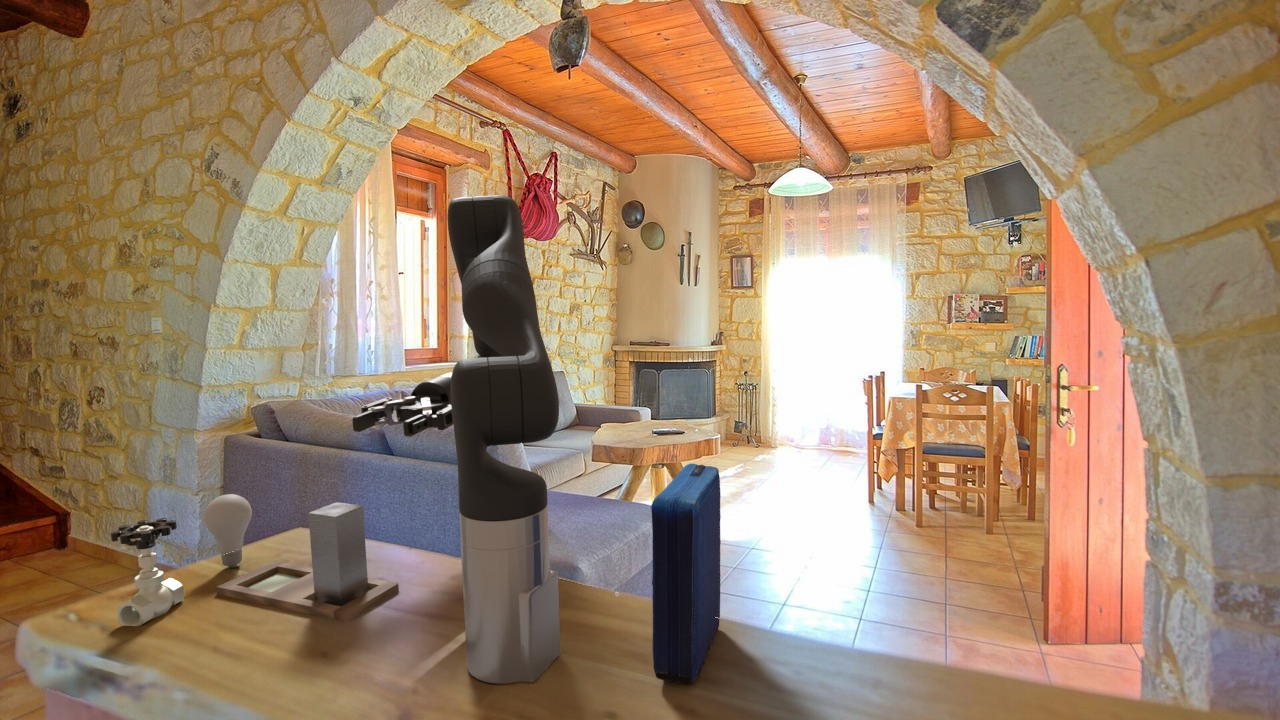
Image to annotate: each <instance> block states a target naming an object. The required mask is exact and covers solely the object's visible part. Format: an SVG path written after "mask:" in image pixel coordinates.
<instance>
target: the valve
mask: <svg viewBox="0 0 1280 720" xmlns="http://www.w3.org/2000/svg"><path fill="white" fill-rule="evenodd" d="M177 527H178V526H177V521H176V520H168V519H167V518H166V517H161V518H158V519H156V520H155V521H154V520H153V521H149V520H148V519H141V520H138V521H137V522H136V524H134V525H128V524H123V525H120V526H118V527H117V529H118V530H115V531H112V532H110V540H111V542H118V541H119V542H120V545H127V546H130V547H136V550H139V551H140V550H141V554H140V555H139V554H138V556H137V562H138V567H139V568H141V570H140V571H139V574H138V575H136V576H135V577H134V578H133V579H134V586H135V588H138V591H137V593H136V594H135V595H134V596H133V597H132V598H131V599H129V600H127V601H125V602H124V603H122V604H120V605H119V606H118V607H117V609H116V611H117V613H116V615H117V620H118V622H119V624H121V626H123V627H125V626H127V627H129V626H132V627H140V626H142V625H143V624H145V623H147V622H149V621H150V620H152V619H156V618H158V617H160V616H163V615H164V614H166V613H168V611H170V609H171V608H172V607H174V606H175V605H176V604H178V603H180V602H182V601H183V600H185V590H184V586H183V584H182V583H181V582H180V581H178V580H176V579H175V578H171V577H169V578H168V579H165V574H164V571H162V570H159V569H158V568H157V567H155V566H156V565H157V564H158V560H157V553H156V552H153V551H152V548H153V547H155V546H156V545H157V544H156V543H157V542H156V540H157V539H158V538H159V537H160V535H161V537H166V536H170V535H172V533H171V531H174V530H176V529H177ZM118 538H119V539H118Z"/></svg>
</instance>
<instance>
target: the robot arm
mask: <svg viewBox="0 0 1280 720" xmlns="http://www.w3.org/2000/svg"><path fill="white" fill-rule="evenodd" d="M446 218H447V229H448V237H449V242H450V243H449V244H450V247H451V250H452V254H453V255H452V256H453V259H454V264H455V266H456V270H457V274H458V278H459V280H460V284H461V307H462V308H461V310H462V314H463V318H464V320H465V323H466V325H467V326H468V327H469V329H470V330H471V332H472V339H473V344H474V345H473V346H474V349H475V351H476V353H477V355H475V356H474V357H471V358H470V357H469V358H463V359H461V360H459V361H457V362H456V363H455V365H454V366H453V369H452V371H451V372H447V373H444V374H441V375H439V376H436V377H433V378H431V379H428V380H425V381H422V382H421V383H419V384H417V385H416V386H414V389H413V390H412V392H411V393H410V396H404V397H402V399H396V400H393V398H392V397H389V396H386V397H384V398H382V399H379V400H375V401H373V402H370V403H368V404H364V405H362V406H361V407H360V411H361V413H360V414H357V415H355V416H353V417H352V419H351V422H352V428H353V429H352V430H353V431H354V432H356V433H357V432H358V433H360V432H363V431H365V430H367V429H370V428H373V427H374V426H376V425H377V426H378V425H383V424H387V425H388V426H390V427H391V426H397V425H402V424H403V425H402V426H403V435H404V437H408V438H410V437H413V436H415V435H416V434H417V435H418V434H419V433H421V432H424V431H431V430H433V429H437V430H438V431H444V430H446V429H448V428H450V427H452V426H453V431H454V441H455V442H454V444H455V452H456V459H457V462H456V464H457V478H458V481H457V482H458V510H459V529H460V530H459V531H460V535H459V536H460V552H461V553H460V554H461V555H460V556H461V572H462V573H461V574H462V592H463V593H462V594H463V595H462V596H463V615H464V632H465V650H466V651H465V653H466V666H467V667H466V668H467V671H468V672H469V673H470V675H471V676H473V677H474V678H476V679H477V680H479V681H482V682H486V683H490V684H511V683H512V684H513V683H517V682H518V683H519V682H528V683H534V682H535V681H536V680H537V679H538V678H539V677H541V674H543V673H544V672H545V671H546V670H547V668H548V667H549V666H550V665H552V663H553V662H555V660H556V659H557V658H558V657H559V656H560V655H561V652H562V650H561V627H560V623H561V622H560V598H559V596H560V595H559V575H558V572H557V571H555V570H551V566H550V538H549V508H548V507H549V506H548V487H547V486H548V485H547V483H546V480H545V479H544V478H543V477H542V476H541V475H540V474H538V473H536V472H534V471H532V470H528V469H523V468H519V467H516V466H513V465H510V464H507V463H505V462H502V461H500V460H499V459H497V458H495V457H493V456H492V455H491V454H490V453H489V452H488V450H487V448H488V447H491V446H505V445H508V446H509V445H520V444H532V443H537V442H542V441H544V440H547V439H549V438H551V436H552V435H553V434H554V433H555V431H556V429H557V426H558V422H559V417H560V400H559V399H560V398H559V392H558V388H557V382H556V377H555V375H554V370H553V367H552V364H551V360H550V358H549V355H548V352H547V349H546V346H545V342H544V339H543V336H542V333H541V328H540V322H539V321H540V319H539V315H538V314H539V313H538V308H537V307H538V305H537V299H536V293H535V289H534V284H533V281H532V275H531V272H530V268H529V266H528V265H529V263H528V260H527V257H526V248H525V235H524V233H525V232H524V226H523V225H524V223H523V217H522V214H521V210H520V207H519V205H518V203H517V202H516V201H515V200H514V198H512V197H511V196H508V195H502V194H494V195H476V196H462V197H456V198H452V199H451V200H450V202H449V203H448V207H447V217H446ZM394 412H395V415H396V419H394V418H393V414H394Z"/></svg>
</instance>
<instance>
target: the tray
mask: <svg viewBox="0 0 1280 720" xmlns="http://www.w3.org/2000/svg"><path fill="white" fill-rule="evenodd" d="M399 586H400V585H399V582H393V581H388V580H382V579H376V578H371V577H368V592H367V593H365V594H363V595H361V596H359V597H358V598H356V599H354V600H352V601H351V602H349V603H347V604H345V605H344V606H342V607H341V606H336V605H331V604H326V603H321V602H316V601H315V594H314V581H313V568H312V567H309V566H303V565H298V564H293V563H287V562H283V561H277V560H275V561H272V562H270V563H267V564H265V565H263V566H261V567H259V568H256V569H254V570H252V571H249V572H247V573H245V574H242V575H240V576H238V577H236V578H233V579H231V580H228V581H226V582H224V583H222V584H219V585H217V586H216V595H219V596H223V597H227V598H233V599H237V600H243V601H246V602H250V603H251V602H252V603H256V604H261V605H263V606H264V605H265V606H271V607H274V608H279V609H284V610H288V611H293V612H298V613H301V614H307V615H311V616H315V617H321V618H326V619H329V620H334V621H341V622H344V623H348V622H349V621H351V620H352V619H354V618H356V617H359V616H360V615H361V614H363V613H364V612H366V611H368V610H369V609H371V608H373V607H374V606H376V605H378V604H379V603H381V602H383V601H384V600H386V599H388V598H389V597H391V596H393V595H394V594H397V593H398V592H399V591H400V589H399Z"/></svg>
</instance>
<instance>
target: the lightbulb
mask: <svg viewBox="0 0 1280 720" xmlns="http://www.w3.org/2000/svg"><path fill="white" fill-rule="evenodd" d="M252 515H253V510H252V506H251V504H250V502H249V501H248V500H247V499H246V498H245V497H243V496H240V495H239V494H235V493H229V494H222V495H220V496H217V497H216V498H214V499H213V500H212V501H210V503H208V505H207V506H206V507H205V510H204V514H203V522H204V525H205V527H206V528H207V530H208V531H209V533H210V534H211V535H212V536H213V537H214V539H215V541H216V543H217V547H218V552H219V553H220V555H222V556H221V557H220V558H221V562H222V565H223V566H225V567H226V566H227V567H228V568H235V567H237V566H238V564H240V563H241V562H242V560H243V548H244V538H245V533H246V530H247V528H249V527H248V526H249V524H250V522H251V521H252ZM242 547H243V548H242ZM237 549H238V550H237ZM232 551H234V552H232ZM229 552H230V553H229ZM226 553H228V554H226ZM223 554H225V555H223Z"/></svg>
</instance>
